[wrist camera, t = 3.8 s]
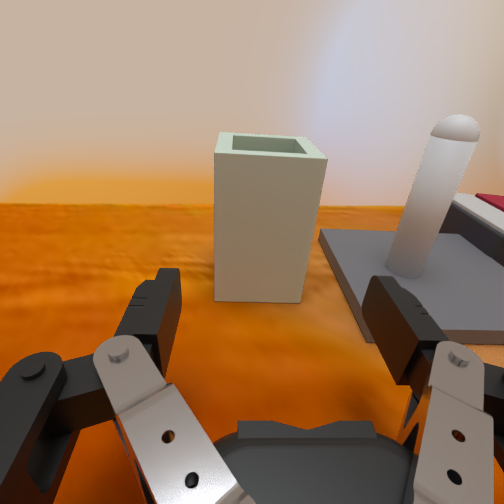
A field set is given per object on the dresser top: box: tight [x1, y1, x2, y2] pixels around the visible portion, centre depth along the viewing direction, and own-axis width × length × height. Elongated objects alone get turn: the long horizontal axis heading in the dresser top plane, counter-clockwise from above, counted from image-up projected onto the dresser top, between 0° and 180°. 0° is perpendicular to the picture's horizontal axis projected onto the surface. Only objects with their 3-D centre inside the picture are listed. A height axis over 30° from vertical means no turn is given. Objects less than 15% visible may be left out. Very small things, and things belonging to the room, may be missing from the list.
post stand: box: [318, 114, 504, 344], centre depth 21 cm, size 14×13×12 cm
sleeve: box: [214, 132, 328, 303], centre depth 21 cm, size 6×6×10 cm
